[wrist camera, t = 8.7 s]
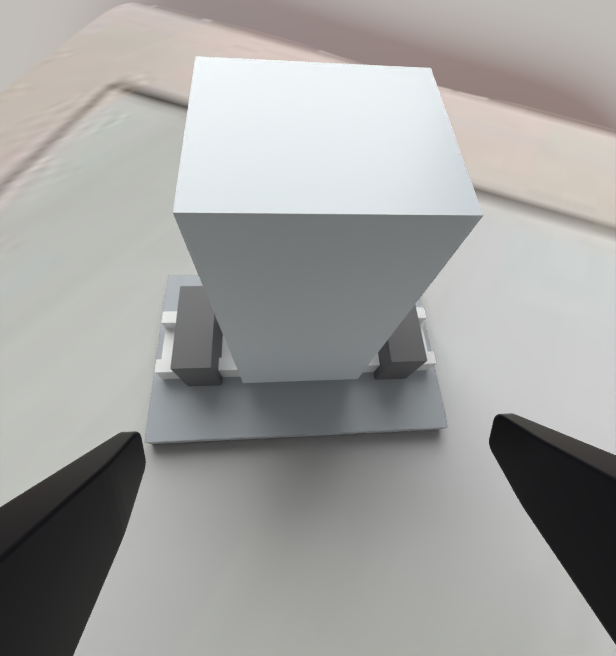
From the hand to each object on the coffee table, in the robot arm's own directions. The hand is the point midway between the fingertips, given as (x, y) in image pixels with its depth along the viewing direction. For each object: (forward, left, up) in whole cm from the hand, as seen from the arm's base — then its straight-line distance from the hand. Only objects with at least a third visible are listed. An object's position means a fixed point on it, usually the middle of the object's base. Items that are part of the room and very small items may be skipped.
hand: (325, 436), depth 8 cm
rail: (+6, +1, -10) cm, 12 cm away
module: (+6, +1, -8) cm, 10 cm away
